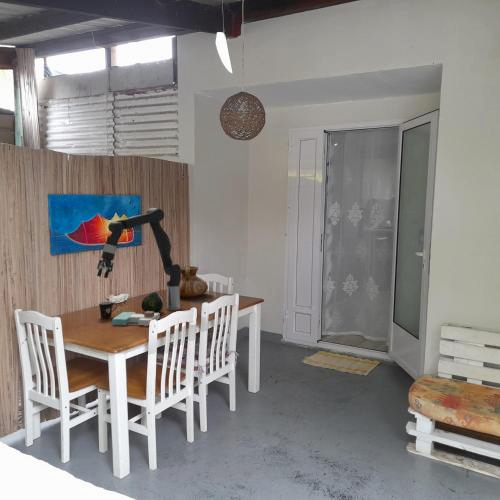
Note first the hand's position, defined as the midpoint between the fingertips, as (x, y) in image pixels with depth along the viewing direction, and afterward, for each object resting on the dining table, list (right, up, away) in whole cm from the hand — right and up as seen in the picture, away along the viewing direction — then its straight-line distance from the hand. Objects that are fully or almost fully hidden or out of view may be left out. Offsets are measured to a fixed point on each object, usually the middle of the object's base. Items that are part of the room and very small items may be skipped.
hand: (102, 277), depth 284 cm
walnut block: (+28, -26, +8) cm, 39 cm away
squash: (+24, -27, +33) cm, 49 cm away
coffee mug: (-2, -28, +20) cm, 35 cm away
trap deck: (+19, -29, +10) cm, 37 cm away
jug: (+43, -21, +88) cm, 100 cm away
